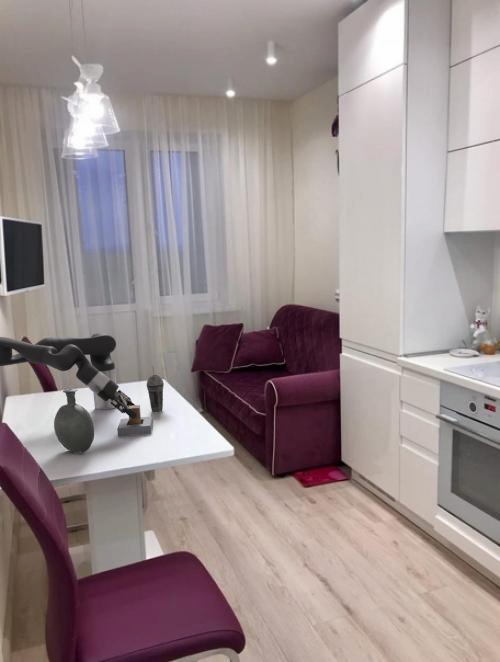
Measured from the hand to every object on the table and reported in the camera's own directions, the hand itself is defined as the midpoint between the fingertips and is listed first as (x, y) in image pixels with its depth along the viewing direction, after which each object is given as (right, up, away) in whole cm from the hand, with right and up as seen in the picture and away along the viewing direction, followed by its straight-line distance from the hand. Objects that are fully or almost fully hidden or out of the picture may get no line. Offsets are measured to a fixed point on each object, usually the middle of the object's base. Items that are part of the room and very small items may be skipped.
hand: (136, 413), depth 199 cm
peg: (0, -6, +1) cm, 6 cm away
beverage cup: (+4, -3, +25) cm, 26 cm away
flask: (-16, -10, -21) cm, 28 cm away
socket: (0, -6, +1) cm, 6 cm away
